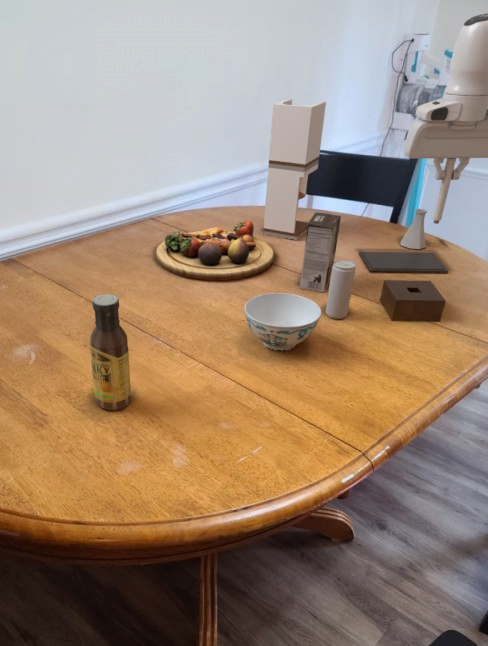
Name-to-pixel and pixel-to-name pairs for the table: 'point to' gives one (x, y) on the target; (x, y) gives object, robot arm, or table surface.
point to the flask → (415, 232)
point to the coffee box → (319, 251)
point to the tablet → (402, 262)
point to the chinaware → (281, 319)
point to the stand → (412, 300)
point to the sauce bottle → (109, 355)
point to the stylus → (444, 190)
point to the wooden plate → (215, 253)
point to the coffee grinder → (291, 165)
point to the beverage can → (340, 289)
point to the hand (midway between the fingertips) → (446, 179)
